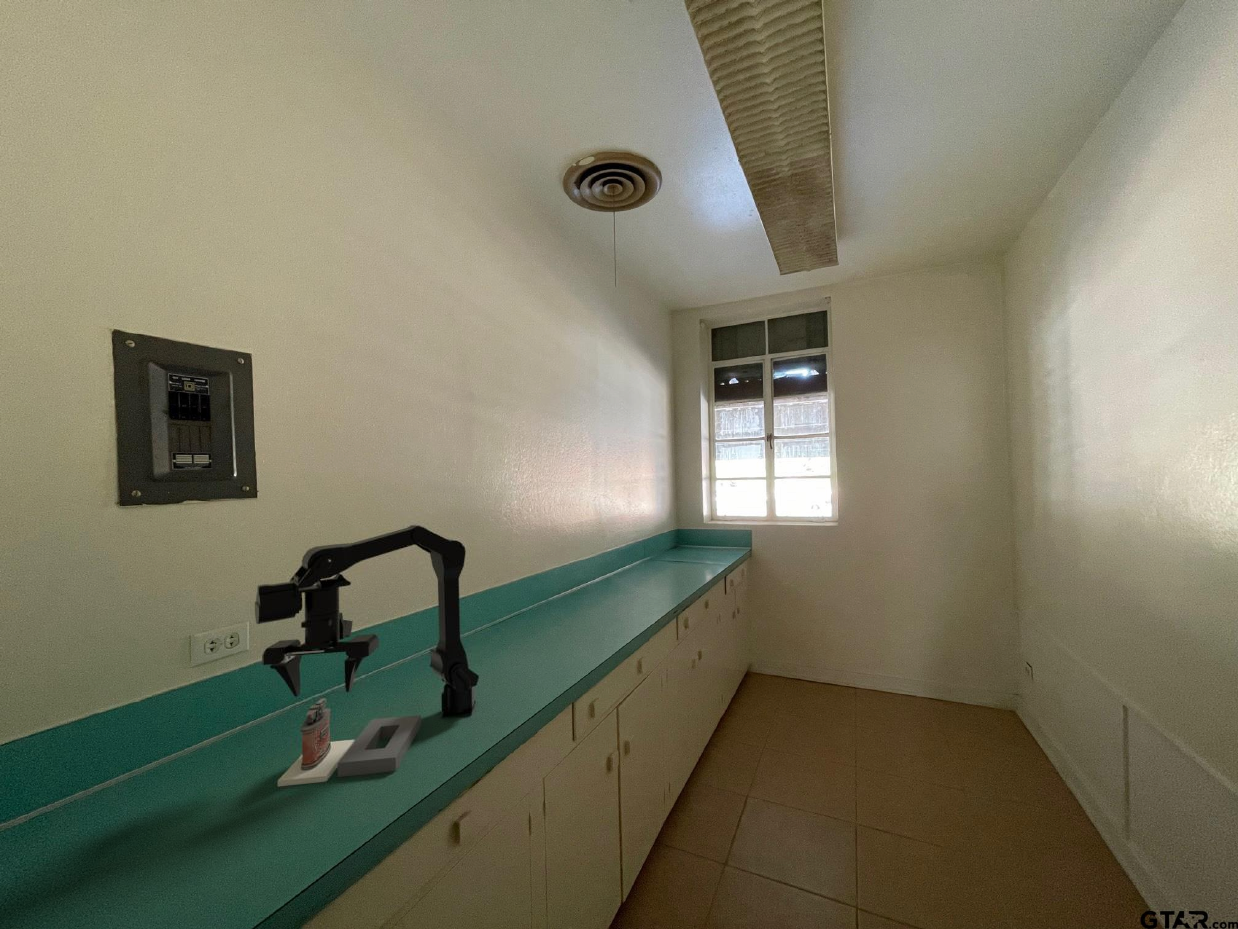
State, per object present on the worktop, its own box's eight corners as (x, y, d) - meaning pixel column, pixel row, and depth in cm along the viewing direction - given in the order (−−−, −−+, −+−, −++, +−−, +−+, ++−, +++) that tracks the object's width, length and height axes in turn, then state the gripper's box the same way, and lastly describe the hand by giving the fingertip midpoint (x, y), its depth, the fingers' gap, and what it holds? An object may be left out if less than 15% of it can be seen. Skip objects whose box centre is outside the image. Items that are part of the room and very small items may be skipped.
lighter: (316, 769, 87) (316, 714, 87) (296, 772, 86) (295, 716, 86) (335, 745, 94) (334, 694, 95) (316, 747, 94) (316, 696, 94)
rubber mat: (354, 744, 96) (354, 739, 96) (326, 781, 85) (326, 775, 85) (312, 748, 95) (312, 743, 95) (277, 786, 83) (277, 780, 84)
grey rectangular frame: (420, 726, 103) (420, 715, 103) (395, 771, 87) (395, 757, 87) (371, 731, 102) (371, 719, 102) (337, 777, 86) (337, 763, 86)
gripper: (387, 598, 101) (388, 672, 101) (292, 604, 99) (293, 680, 98) (367, 613, 90) (368, 696, 90) (259, 620, 88) (260, 705, 87)
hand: (323, 693), depth 91 cm, fingers open, 9 cm apart
